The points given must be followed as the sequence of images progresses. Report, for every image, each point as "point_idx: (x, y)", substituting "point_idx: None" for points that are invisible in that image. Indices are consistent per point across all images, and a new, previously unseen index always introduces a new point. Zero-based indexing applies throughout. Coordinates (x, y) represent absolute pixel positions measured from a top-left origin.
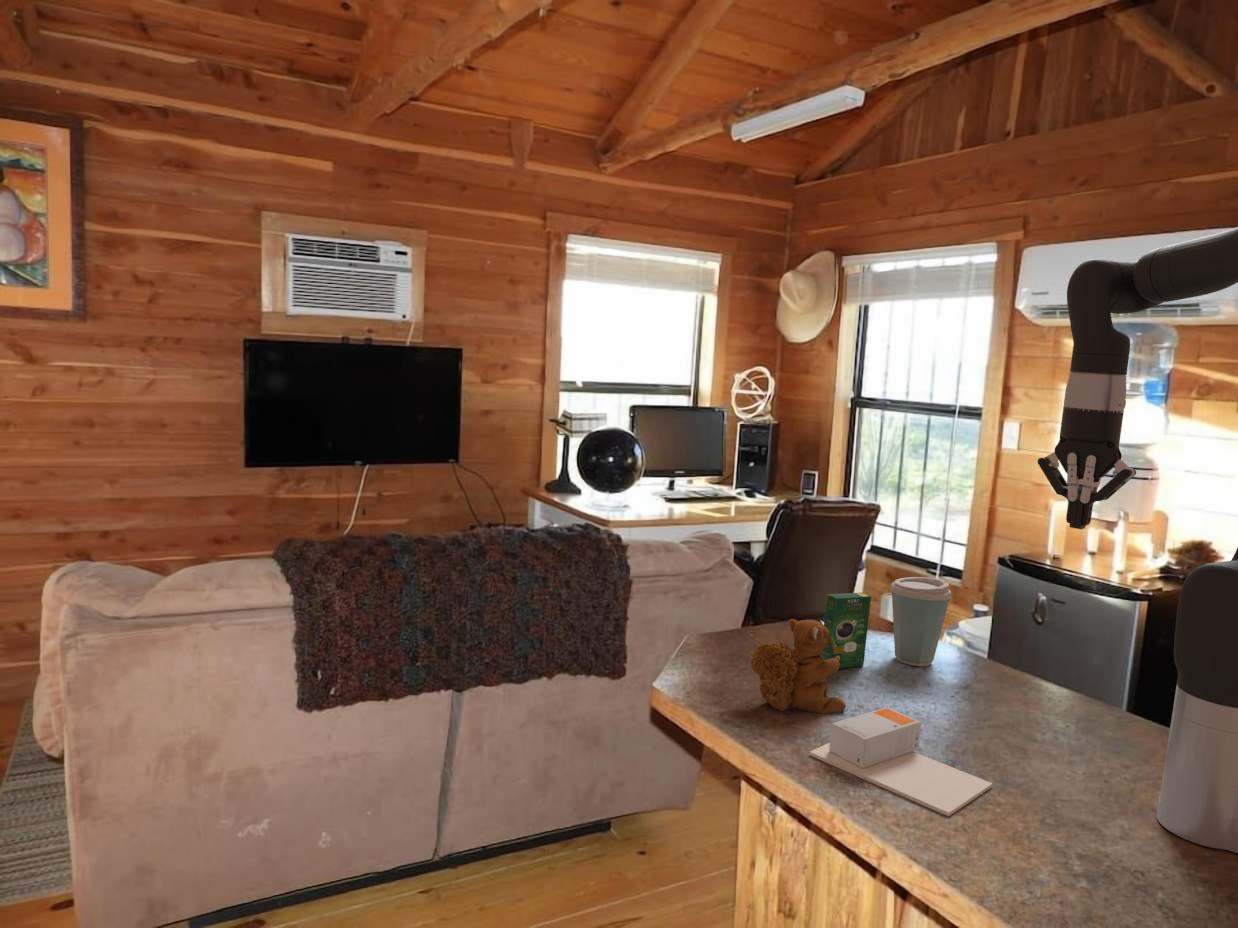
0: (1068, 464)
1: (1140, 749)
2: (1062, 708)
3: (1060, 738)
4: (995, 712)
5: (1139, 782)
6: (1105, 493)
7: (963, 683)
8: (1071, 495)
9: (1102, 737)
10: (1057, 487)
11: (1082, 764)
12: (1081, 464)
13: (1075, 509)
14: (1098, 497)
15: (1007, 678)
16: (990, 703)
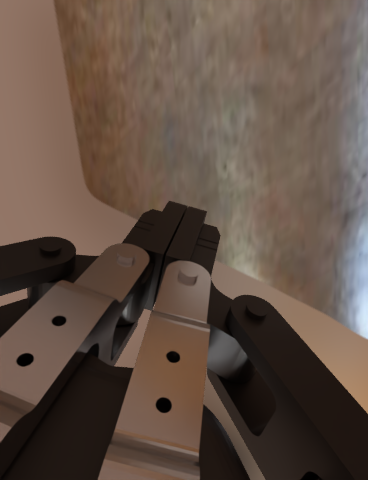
0: (190, 462)
1: (151, 150)
2: (234, 218)
3: (228, 121)
4: (306, 154)
5: (138, 44)
6: (4, 252)
7: (349, 229)
8: (191, 282)
9: (188, 158)
10: (269, 328)
11: (197, 51)
12: (78, 464)
13: (178, 240)
14: (51, 244)
15: (297, 274)
16: (313, 181)
